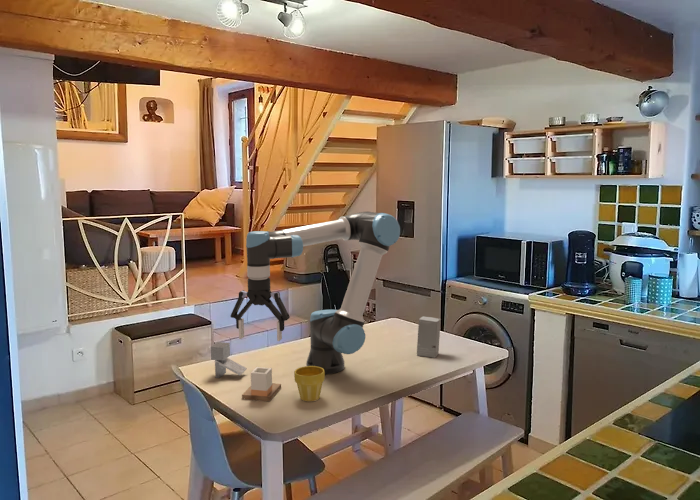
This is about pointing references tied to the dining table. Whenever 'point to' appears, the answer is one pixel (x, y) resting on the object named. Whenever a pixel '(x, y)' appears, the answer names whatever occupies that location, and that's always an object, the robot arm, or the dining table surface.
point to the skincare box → (428, 337)
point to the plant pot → (309, 382)
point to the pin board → (262, 398)
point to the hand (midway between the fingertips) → (260, 339)
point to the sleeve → (261, 381)
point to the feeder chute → (224, 360)
